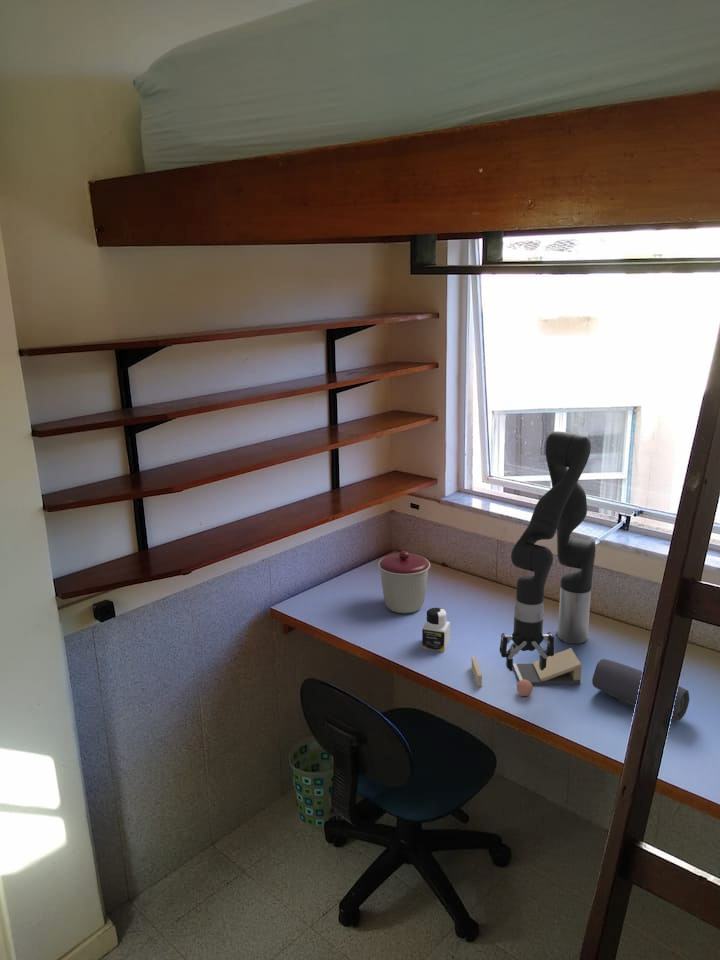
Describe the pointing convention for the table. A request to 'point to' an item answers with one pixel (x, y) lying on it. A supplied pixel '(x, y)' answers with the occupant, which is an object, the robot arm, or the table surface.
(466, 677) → the table surface
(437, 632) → the medicine bottle
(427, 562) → the canister
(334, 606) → the table surface
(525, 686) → the ball
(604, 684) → the bluetooth speaker
